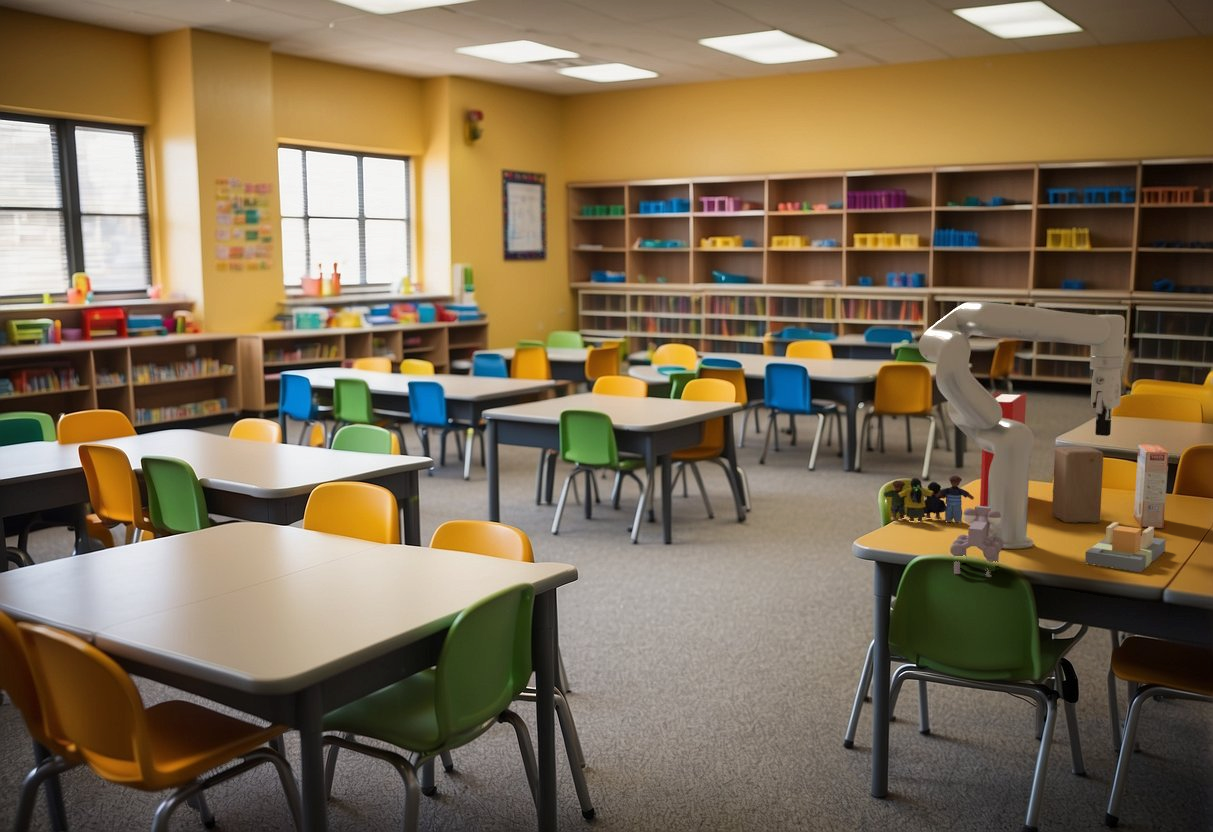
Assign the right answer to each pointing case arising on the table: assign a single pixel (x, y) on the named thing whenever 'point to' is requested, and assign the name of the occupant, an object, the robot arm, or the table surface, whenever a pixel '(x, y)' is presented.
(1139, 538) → the cube
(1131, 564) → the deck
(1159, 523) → the cracker box
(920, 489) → the doll family
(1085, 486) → the wooden block
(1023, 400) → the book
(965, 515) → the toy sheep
